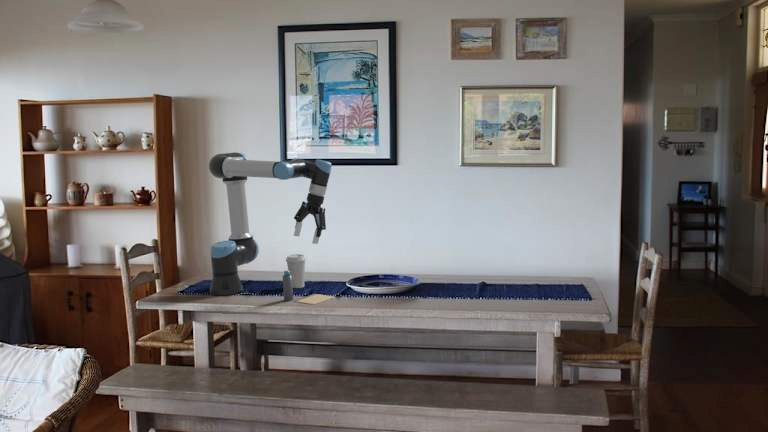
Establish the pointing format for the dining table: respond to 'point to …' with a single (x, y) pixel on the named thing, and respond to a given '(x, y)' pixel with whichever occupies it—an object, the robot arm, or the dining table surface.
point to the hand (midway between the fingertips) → (305, 239)
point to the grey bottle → (287, 286)
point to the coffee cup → (296, 269)
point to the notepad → (314, 299)
